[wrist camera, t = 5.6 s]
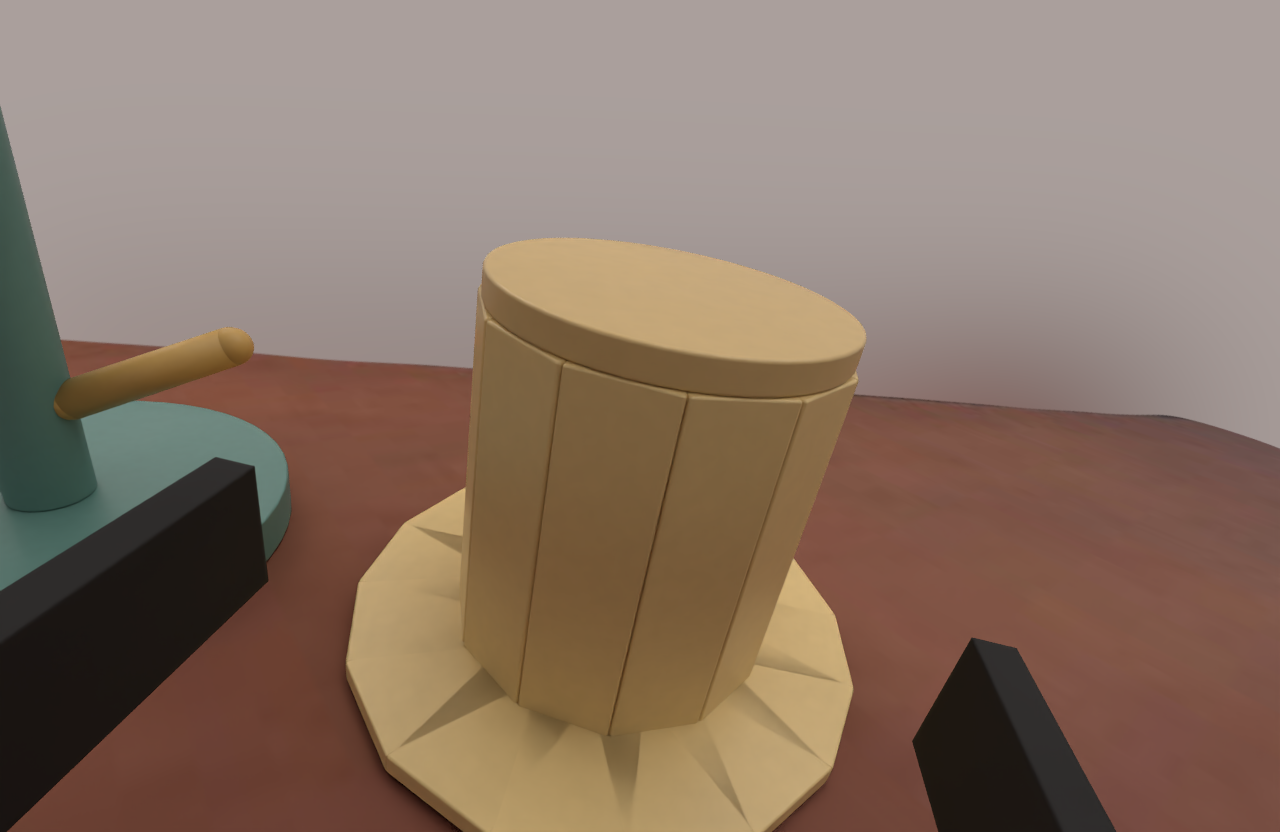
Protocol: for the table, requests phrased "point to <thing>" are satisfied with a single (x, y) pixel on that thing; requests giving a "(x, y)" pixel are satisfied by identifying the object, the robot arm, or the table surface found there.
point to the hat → (620, 555)
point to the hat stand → (101, 417)
